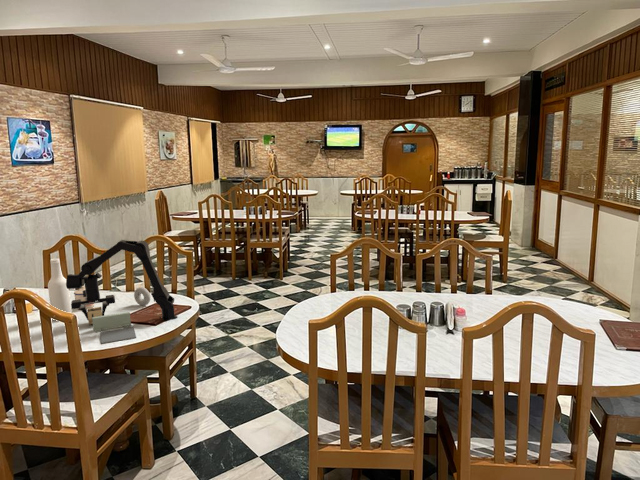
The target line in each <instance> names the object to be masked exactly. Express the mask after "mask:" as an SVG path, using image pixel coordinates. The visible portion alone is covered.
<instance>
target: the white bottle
mask: <svg viewBox="0 0 640 480" xmlns="http://www.w3.org/2000/svg"><path fill="white" fill-rule="evenodd" d="M49 261H50V269H51V270H50V274H51V277H50V279H49V281H48V282H47V289H48V297H49V304H51V305H52V306H54V307H56V308H58V309H60V310H63V311H66V312H71V313H72V314H73V311H72V310H73V309H72V308H71V302H72V301H71V296H70V295H71V294H70V289H67V287H66V280H67V278H65V277H64V275H63V272H62V268H61V264H60V262H61V261H60V258H57V257H55V258H51V259H50V260H49Z"/></svg>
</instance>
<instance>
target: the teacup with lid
mask: <svg viewBox="0 0 640 480" xmlns="http://www.w3.org/2000/svg"><path fill="white" fill-rule="evenodd" d="M83 290H85V285H84V286H82V288H78V289H76V290H74V293H73V295H74V300H78V299H81V301H87V299H86V297H83ZM88 308H95V303H94V304H87V305H86V309H87V310H88ZM76 310H78V308H77V309H76Z"/></svg>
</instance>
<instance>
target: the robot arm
mask: <svg viewBox="0 0 640 480" xmlns="http://www.w3.org/2000/svg"><path fill="white" fill-rule="evenodd" d="M121 251H126V252H130V253H134V255H135V256H136V257H137V258H138V259H139V261H140V262H141V264H142V266H143V268H144V271H145V272H146V274H147V278H148V280H149V281H150V284H151V286H152V288H153V291H151V293H150V296H151V297H152V298H153V302H154V303H156V304H157V305H159V307H160V309H161V316H159V319H161V317H162V319H161V320H163V319H164V320H163V321H165V322H167V321H170V320H174V319H176V318H177V319H178V315H176V314H175V306H174V304H175V303H174V302H175V298H174V297H173V296H172V295H170V293H169V291H168V289H167V288H166V287H165V285H163V284H162V281H161V279H160V276H159V274H158V272H157V270H156V268H155V265H154V263H153V261H152V257H151V251H150V247H149V243H148V242H147V241H145V240H139V241H136V240H125V239H121V240H119V241H117V243H115V244H114V245H113V246H111V247H110V248H108V249H107V250H106V251H104V252H103V253H102V254H100V255H99V256H96V257H94V258H92V259H90V260H88V261H86V262H85V263H83V264H82V265H81V267H80V269H81V271H80V272H79V273H78V274H69V273H68V274H67V276H66V287H67V289H69V290H73V289H74V290H75V289H76V290H78V289H80V288H82V286H85V290H83V297H86V299H87V301H81V299H78V300H75V299H74V300H73V299H72V301H70V302H71V310H78V311H81V312H82V313H83V315H84V316H85V318H86V319H87V321H88V313H87V311H88V309H86V305H87V304H94V305H95V304H101V303H102V306H101V308H102V316H105V313H106V309H107V307H109V306H110V305H111V304H116V297H115V294H109V295H105V297H103V298H101V293H100V289H99V279H101V278H102V277H103V275H102V274H100V273H99V272H96V271H97V270H98V269H99V268H100V267H101V266H102V265H103V264H104V263H105V262H106V261H108V260H109V259H111V258H112V257H114V256H115V255H116V254H119V252H121ZM95 272H96V273H95ZM77 308H78V309H77Z"/></svg>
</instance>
